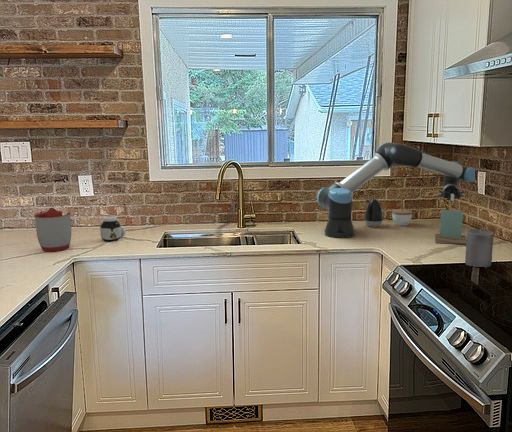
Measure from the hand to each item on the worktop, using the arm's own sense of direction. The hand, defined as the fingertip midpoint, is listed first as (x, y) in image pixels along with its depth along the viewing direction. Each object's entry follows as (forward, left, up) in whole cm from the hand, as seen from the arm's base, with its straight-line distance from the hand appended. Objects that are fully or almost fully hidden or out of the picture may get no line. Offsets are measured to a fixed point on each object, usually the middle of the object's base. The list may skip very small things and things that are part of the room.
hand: (452, 198), depth 241 cm
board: (+6, -11, -19) cm, 23 cm away
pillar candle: (+34, -42, -19) cm, 58 cm away
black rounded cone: (-39, -12, -19) cm, 45 cm away
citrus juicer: (-110, -161, -19) cm, 196 cm away
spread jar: (-110, -133, -19) cm, 174 cm away
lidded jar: (-30, +2, -19) cm, 35 cm away
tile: (+4, -7, -11) cm, 14 cm away
